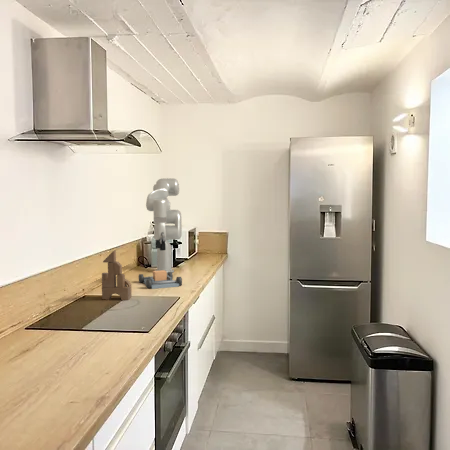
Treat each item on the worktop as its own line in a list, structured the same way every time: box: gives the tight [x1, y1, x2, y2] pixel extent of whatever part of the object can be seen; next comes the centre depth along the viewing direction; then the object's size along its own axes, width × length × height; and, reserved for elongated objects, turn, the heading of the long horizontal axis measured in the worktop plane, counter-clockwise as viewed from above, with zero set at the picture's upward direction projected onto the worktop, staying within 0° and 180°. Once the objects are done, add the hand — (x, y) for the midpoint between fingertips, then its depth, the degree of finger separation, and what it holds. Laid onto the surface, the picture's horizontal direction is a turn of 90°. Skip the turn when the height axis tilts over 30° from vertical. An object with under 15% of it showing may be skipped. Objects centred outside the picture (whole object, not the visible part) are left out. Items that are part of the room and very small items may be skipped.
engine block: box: [152, 270, 167, 281], centre depth 278 cm, size 5×7×6 cm
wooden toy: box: [101, 250, 133, 301], centre depth 240 cm, size 16×7×25 cm, turn 83°
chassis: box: [138, 272, 183, 290], centre depth 278 cm, size 24×20×5 cm
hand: (160, 249), depth 278 cm, fingers open, 9 cm apart
